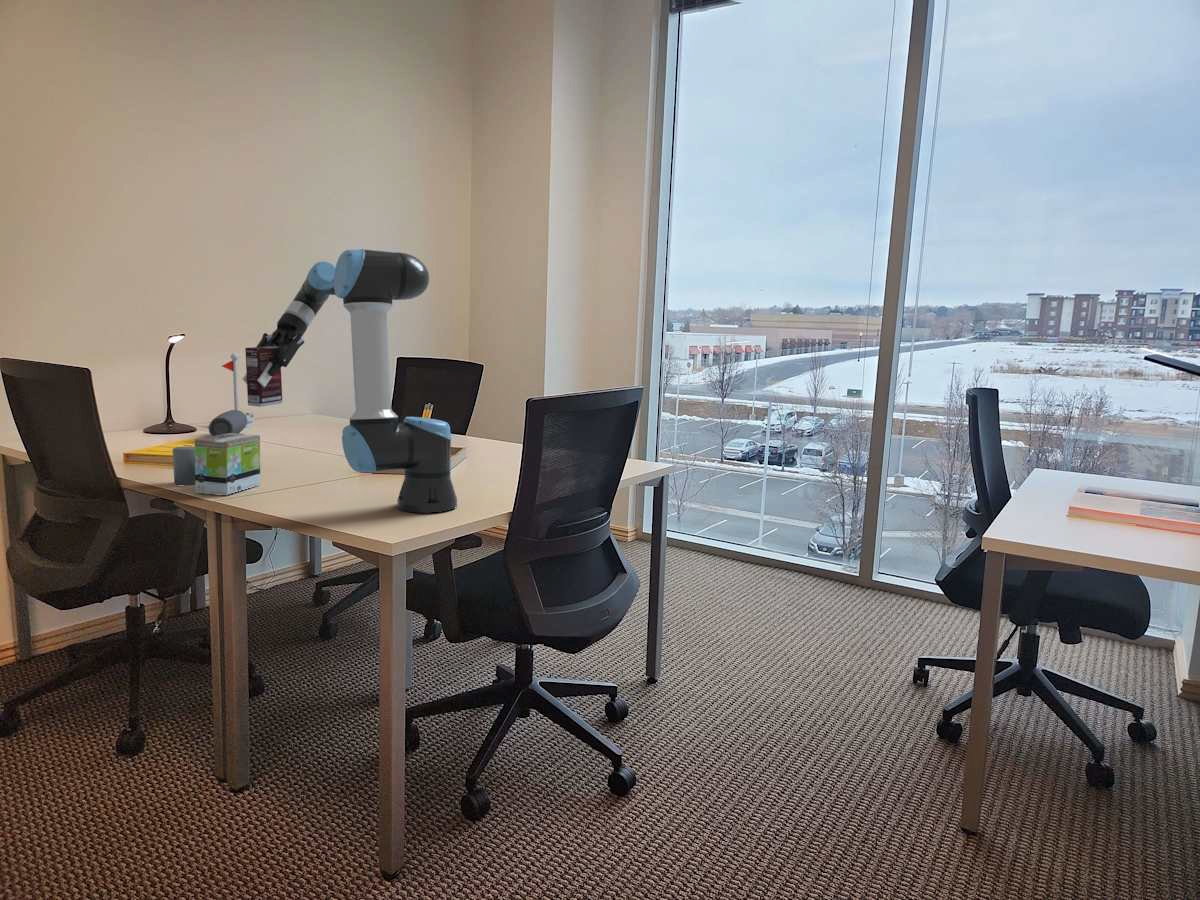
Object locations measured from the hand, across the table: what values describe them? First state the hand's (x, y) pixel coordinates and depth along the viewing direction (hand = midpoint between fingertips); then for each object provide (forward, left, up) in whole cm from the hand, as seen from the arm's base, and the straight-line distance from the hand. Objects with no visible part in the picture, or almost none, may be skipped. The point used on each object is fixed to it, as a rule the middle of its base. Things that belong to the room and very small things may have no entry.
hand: (253, 382), depth 227 cm
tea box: (+4, +6, -29) cm, 30 cm away
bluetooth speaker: (+69, -58, -29) cm, 95 cm away
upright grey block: (+19, +6, -29) cm, 35 cm away
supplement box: (0, -4, -7) cm, 8 cm away
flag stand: (+88, -81, -29) cm, 124 cm away
